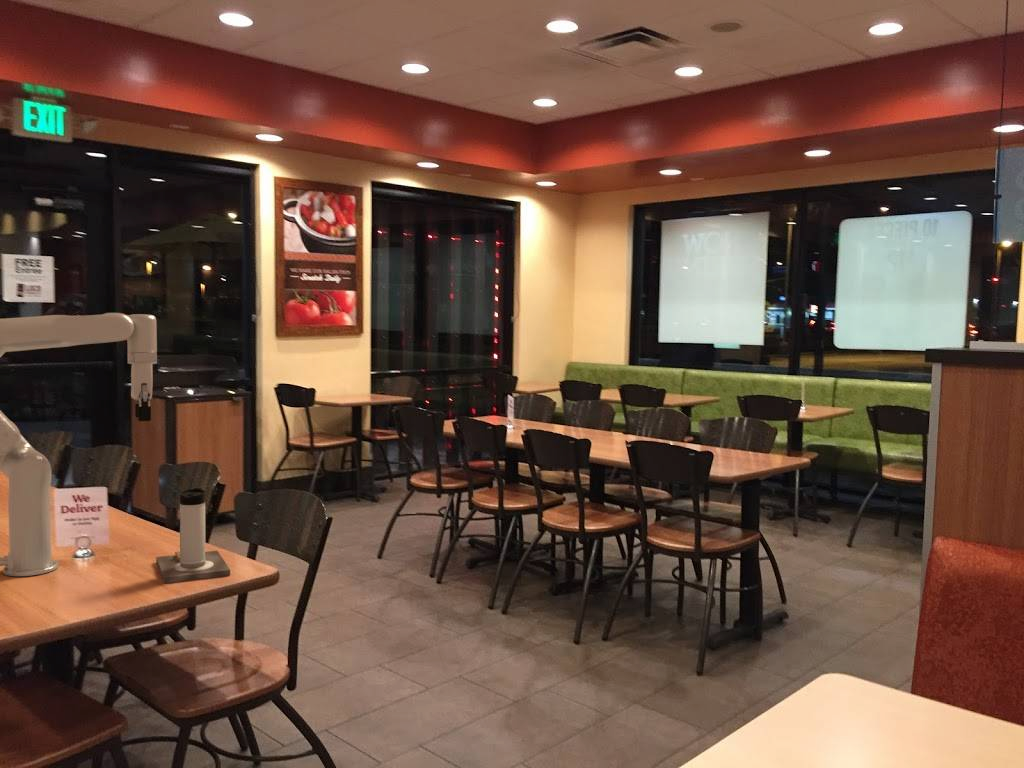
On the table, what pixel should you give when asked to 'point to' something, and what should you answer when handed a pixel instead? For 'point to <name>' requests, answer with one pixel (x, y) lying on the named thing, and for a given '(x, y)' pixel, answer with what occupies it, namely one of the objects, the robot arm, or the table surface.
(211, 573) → the grey sink model
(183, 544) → the travel mug
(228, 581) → the table surface
